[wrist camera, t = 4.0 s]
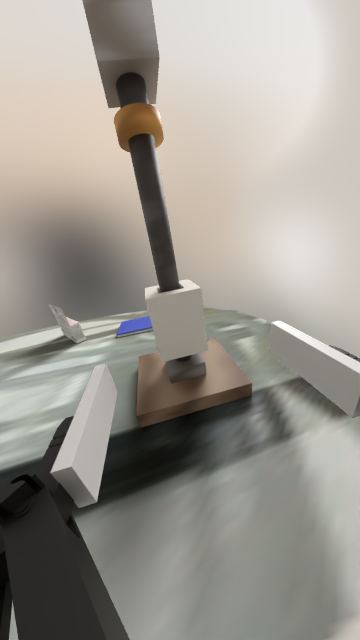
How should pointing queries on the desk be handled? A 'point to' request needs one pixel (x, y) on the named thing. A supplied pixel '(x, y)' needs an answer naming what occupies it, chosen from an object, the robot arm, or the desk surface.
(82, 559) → the robot arm
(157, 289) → the sleeve
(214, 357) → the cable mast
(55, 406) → the desk surface
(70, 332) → the ink cartridge box
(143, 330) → the hard drive
